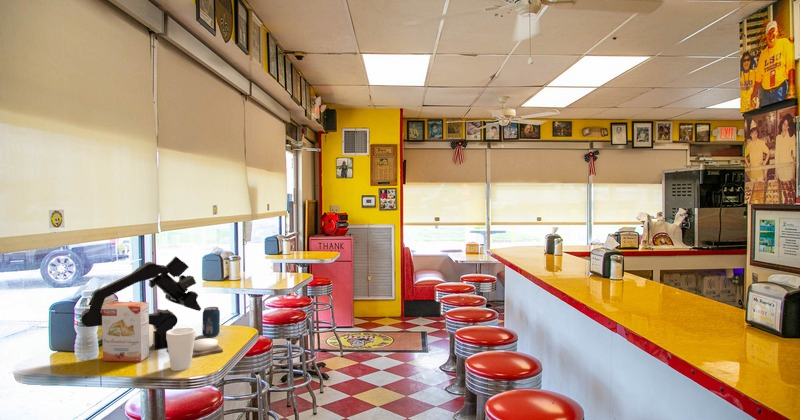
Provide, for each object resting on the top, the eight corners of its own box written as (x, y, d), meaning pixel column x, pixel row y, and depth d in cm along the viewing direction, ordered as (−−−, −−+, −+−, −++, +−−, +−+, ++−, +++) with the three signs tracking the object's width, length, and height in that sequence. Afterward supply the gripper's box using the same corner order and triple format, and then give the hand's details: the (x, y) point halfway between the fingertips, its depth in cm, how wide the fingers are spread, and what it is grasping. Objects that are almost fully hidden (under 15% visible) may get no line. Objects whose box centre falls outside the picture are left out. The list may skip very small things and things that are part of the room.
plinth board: (178, 360, 163) (178, 352, 163) (168, 349, 176) (168, 341, 176) (222, 351, 174) (222, 344, 174) (210, 341, 186) (210, 334, 186)
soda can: (216, 332, 200) (216, 305, 199) (221, 335, 194) (222, 308, 194) (200, 335, 195) (200, 307, 195) (205, 338, 190) (205, 310, 190)
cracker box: (101, 362, 160) (100, 305, 159) (112, 355, 166) (111, 300, 165) (140, 362, 160) (139, 305, 159) (150, 356, 166) (149, 301, 165)
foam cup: (167, 364, 159) (167, 328, 159) (195, 361, 163) (196, 326, 163) (164, 374, 150) (165, 335, 150) (194, 370, 154) (195, 333, 154)
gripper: (193, 272, 179) (219, 296, 187) (173, 267, 191) (198, 290, 199) (173, 294, 173) (200, 318, 181) (153, 288, 185) (180, 310, 193)
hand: (195, 308), depth 189 cm, fingers open, 9 cm apart
